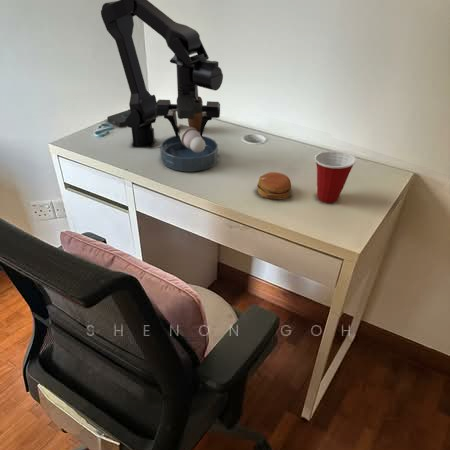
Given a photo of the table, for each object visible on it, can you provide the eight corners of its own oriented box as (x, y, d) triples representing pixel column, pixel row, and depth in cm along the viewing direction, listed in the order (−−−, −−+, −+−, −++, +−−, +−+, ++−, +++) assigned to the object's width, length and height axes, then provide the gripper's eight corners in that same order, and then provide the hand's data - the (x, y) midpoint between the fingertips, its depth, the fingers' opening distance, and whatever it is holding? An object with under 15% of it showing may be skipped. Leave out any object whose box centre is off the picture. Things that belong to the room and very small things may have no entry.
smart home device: (106, 116, 153) (148, 103, 164) (106, 121, 154) (148, 107, 165) (120, 122, 149) (162, 108, 160) (120, 127, 150) (162, 113, 161)
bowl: (157, 171, 127) (156, 157, 123) (165, 146, 139) (164, 133, 136) (216, 173, 127) (216, 159, 124) (218, 148, 140) (218, 135, 136)
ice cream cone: (174, 134, 134) (200, 161, 128) (162, 125, 128) (189, 153, 122) (186, 118, 132) (213, 145, 126) (175, 109, 126) (203, 136, 121)
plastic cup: (319, 184, 124) (327, 144, 115) (352, 197, 119) (363, 156, 110) (300, 198, 117) (307, 157, 109) (334, 212, 113) (344, 170, 104)
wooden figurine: (203, 133, 148) (203, 88, 138) (187, 133, 148) (186, 87, 138) (204, 126, 153) (204, 82, 143) (189, 125, 153) (187, 81, 142)
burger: (295, 198, 117) (298, 182, 114) (265, 203, 115) (266, 187, 112) (281, 181, 124) (282, 167, 121) (252, 186, 122) (253, 171, 119)
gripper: (150, 90, 112) (154, 147, 122) (219, 93, 112) (218, 150, 122) (155, 78, 120) (159, 132, 130) (220, 80, 120) (219, 134, 131)
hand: (189, 137), depth 128 cm, fingers closed on ice cream cone, 7 cm apart
